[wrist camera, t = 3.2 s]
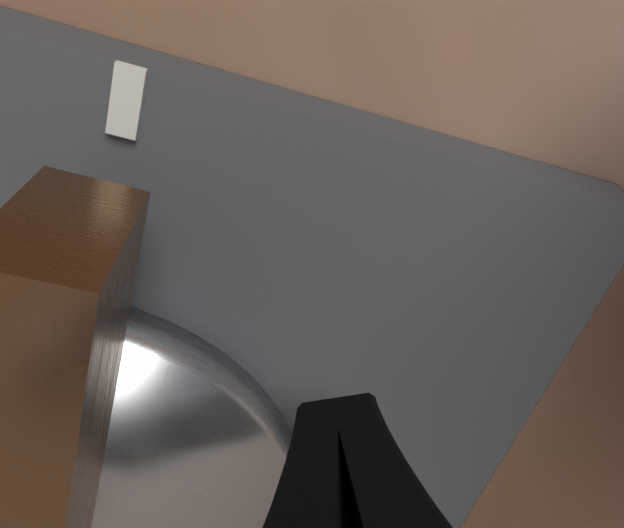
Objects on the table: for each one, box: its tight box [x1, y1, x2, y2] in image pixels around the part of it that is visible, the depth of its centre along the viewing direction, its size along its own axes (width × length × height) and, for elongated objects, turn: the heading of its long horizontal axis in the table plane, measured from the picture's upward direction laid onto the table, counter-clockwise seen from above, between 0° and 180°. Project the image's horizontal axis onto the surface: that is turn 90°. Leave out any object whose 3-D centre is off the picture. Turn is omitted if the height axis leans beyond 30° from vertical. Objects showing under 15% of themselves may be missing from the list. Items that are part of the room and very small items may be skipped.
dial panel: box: [0, 6, 624, 528], centre depth 15 cm, size 20×20×2 cm
